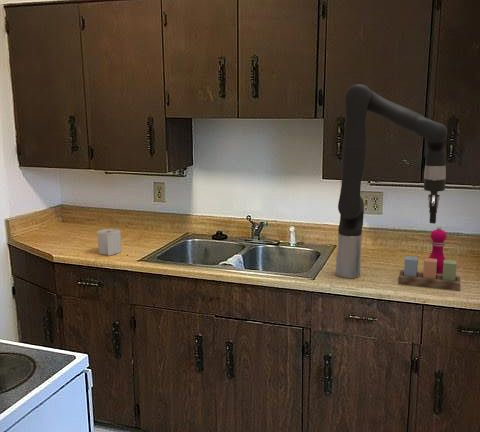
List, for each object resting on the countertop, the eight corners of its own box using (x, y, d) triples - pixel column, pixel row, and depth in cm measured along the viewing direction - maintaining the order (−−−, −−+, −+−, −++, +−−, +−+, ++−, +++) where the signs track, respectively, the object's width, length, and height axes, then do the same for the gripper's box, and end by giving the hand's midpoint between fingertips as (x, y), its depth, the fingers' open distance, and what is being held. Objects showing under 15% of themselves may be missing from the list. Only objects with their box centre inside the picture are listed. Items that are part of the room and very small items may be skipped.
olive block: (442, 280, 205) (443, 263, 204) (442, 277, 209) (443, 259, 208) (455, 282, 203) (456, 264, 202) (455, 278, 208) (456, 260, 206)
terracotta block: (422, 278, 208) (423, 261, 206) (423, 275, 212) (424, 257, 210) (435, 280, 206) (436, 262, 204) (435, 276, 210) (437, 259, 209)
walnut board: (398, 284, 209) (398, 276, 209) (400, 277, 217) (400, 269, 217) (459, 291, 201) (460, 283, 201) (459, 283, 209) (460, 276, 209)
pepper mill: (441, 270, 225) (444, 223, 221) (448, 276, 218) (451, 227, 214) (423, 271, 225) (427, 224, 220) (430, 276, 218) (433, 228, 213)
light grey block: (114, 247, 264) (113, 227, 262) (127, 252, 255) (126, 231, 253) (94, 251, 257) (93, 231, 255) (107, 257, 248) (105, 235, 246)
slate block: (403, 276, 210) (404, 259, 209) (404, 273, 214) (405, 256, 213) (416, 278, 208) (417, 260, 207) (417, 274, 213) (418, 257, 211)
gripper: (424, 174, 209) (423, 218, 212) (423, 179, 197) (421, 226, 200) (445, 175, 206) (443, 219, 210) (445, 180, 194) (442, 227, 197)
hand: (432, 223), depth 205 cm, fingers closed
